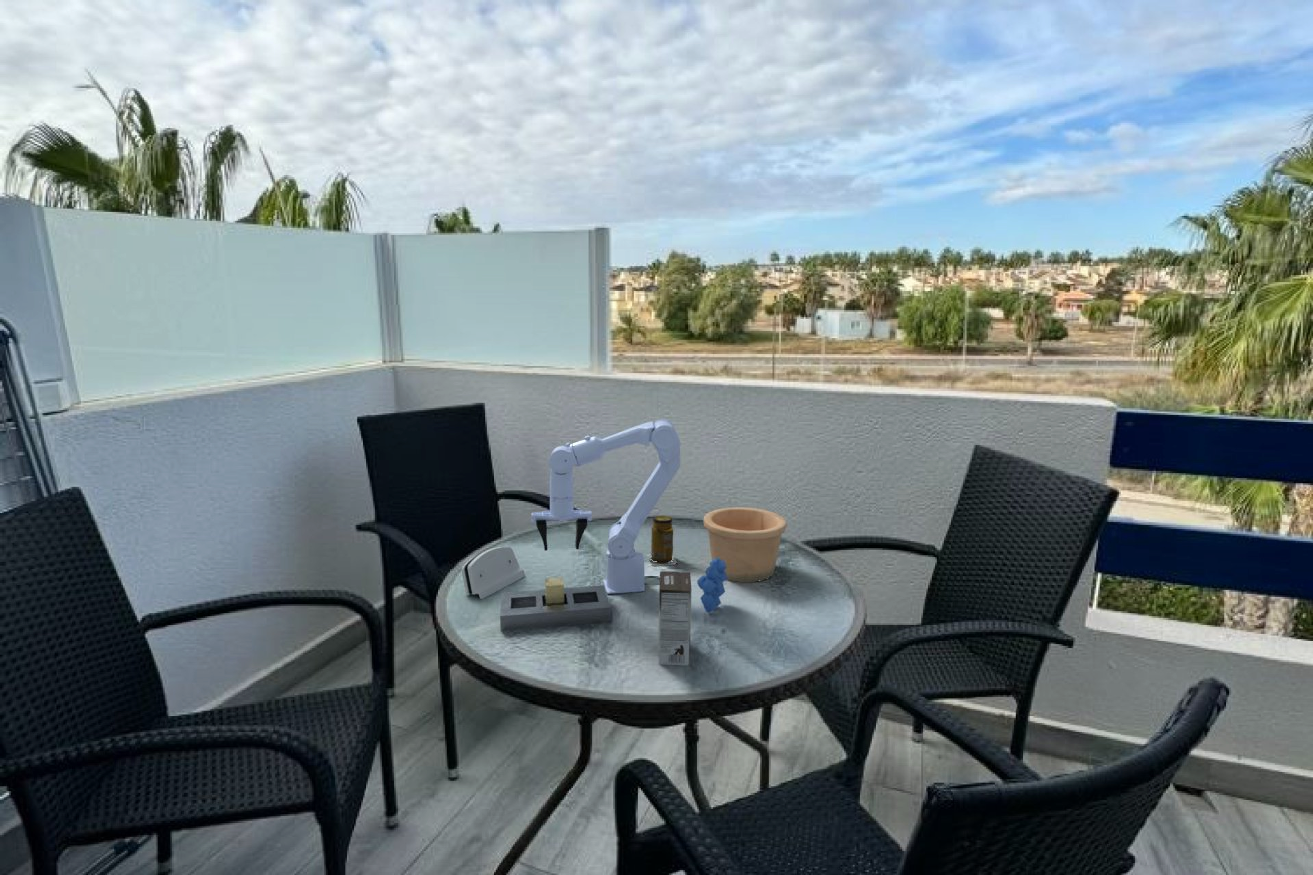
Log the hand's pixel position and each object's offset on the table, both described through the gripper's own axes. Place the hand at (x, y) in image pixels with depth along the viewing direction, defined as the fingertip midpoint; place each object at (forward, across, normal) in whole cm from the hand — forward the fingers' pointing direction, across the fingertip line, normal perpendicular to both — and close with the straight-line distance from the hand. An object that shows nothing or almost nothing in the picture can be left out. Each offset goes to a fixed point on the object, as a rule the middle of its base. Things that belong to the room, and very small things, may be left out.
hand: (561, 548), depth 162 cm
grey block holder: (+10, -2, -14) cm, 18 cm away
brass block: (+10, -2, -14) cm, 18 cm away
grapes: (+10, +34, -17) cm, 39 cm away
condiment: (+10, +29, +14) cm, 34 cm away
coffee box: (+10, +21, -36) cm, 43 cm away
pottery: (+10, +49, +3) cm, 50 cm away
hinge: (+11, -17, +6) cm, 21 cm away
